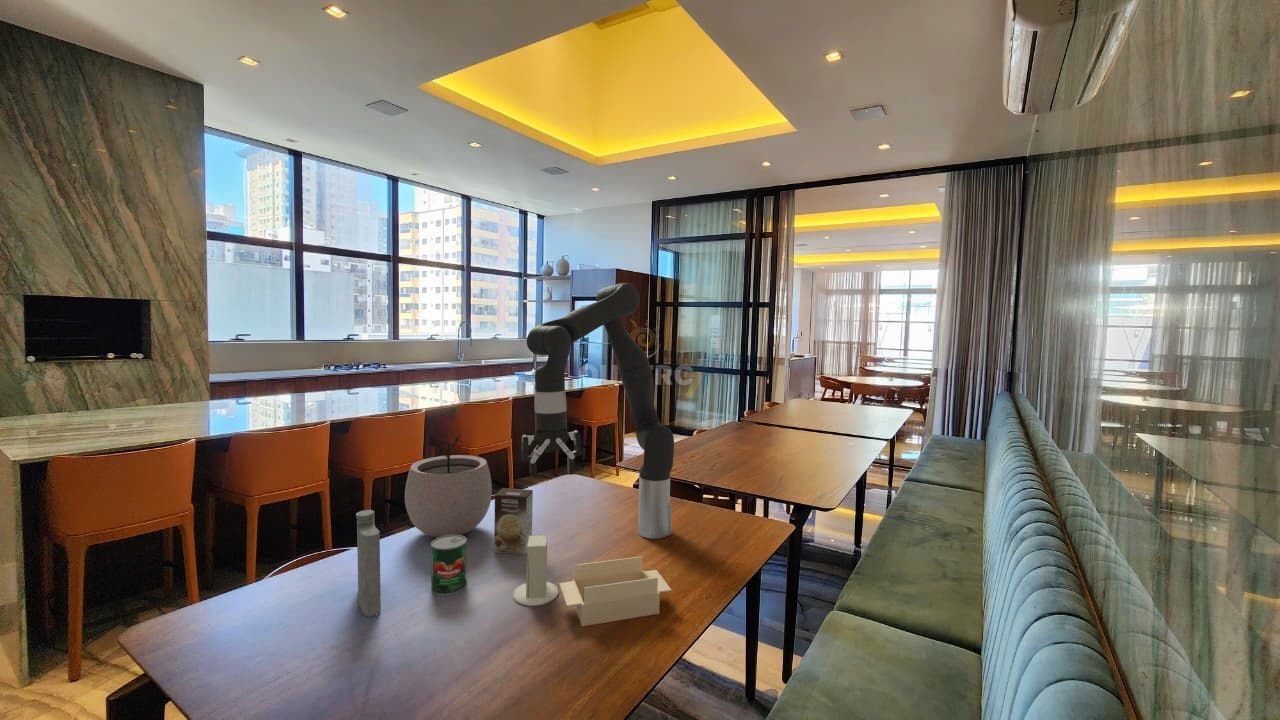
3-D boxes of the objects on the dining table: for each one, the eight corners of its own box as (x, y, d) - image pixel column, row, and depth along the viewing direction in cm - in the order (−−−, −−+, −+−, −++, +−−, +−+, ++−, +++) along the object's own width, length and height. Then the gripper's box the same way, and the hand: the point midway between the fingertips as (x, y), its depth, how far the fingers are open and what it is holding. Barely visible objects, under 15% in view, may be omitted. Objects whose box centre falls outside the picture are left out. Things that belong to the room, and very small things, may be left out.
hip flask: (381, 614, 110) (380, 522, 109) (359, 619, 108) (358, 525, 106) (374, 582, 123) (373, 499, 122) (355, 586, 121) (354, 502, 120)
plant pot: (385, 541, 146) (384, 436, 144) (446, 513, 168) (446, 422, 166) (453, 557, 137) (453, 445, 135) (508, 525, 160) (508, 429, 158)
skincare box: (528, 585, 122) (528, 534, 121) (547, 584, 123) (547, 534, 122) (525, 599, 116) (525, 546, 115) (545, 598, 116) (546, 545, 116)
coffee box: (492, 553, 140) (492, 494, 139) (501, 543, 147) (501, 487, 145) (525, 555, 139) (526, 496, 138) (533, 545, 146) (533, 489, 145)
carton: (655, 587, 124) (655, 554, 123) (672, 611, 113) (673, 575, 113) (558, 601, 116) (558, 566, 116) (567, 628, 106) (567, 590, 105)
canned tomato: (441, 599, 116) (440, 551, 116) (425, 587, 122) (424, 541, 121) (473, 586, 122) (473, 541, 121) (456, 575, 127) (456, 531, 127)
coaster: (554, 581, 125) (554, 578, 125) (561, 602, 116) (561, 599, 116) (511, 586, 122) (511, 584, 122) (515, 608, 113) (515, 606, 113)
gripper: (576, 405, 130) (577, 468, 132) (518, 409, 125) (520, 474, 127) (583, 409, 123) (584, 476, 124) (522, 414, 118) (524, 483, 120)
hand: (552, 475), depth 126 cm, fingers open, 8 cm apart
